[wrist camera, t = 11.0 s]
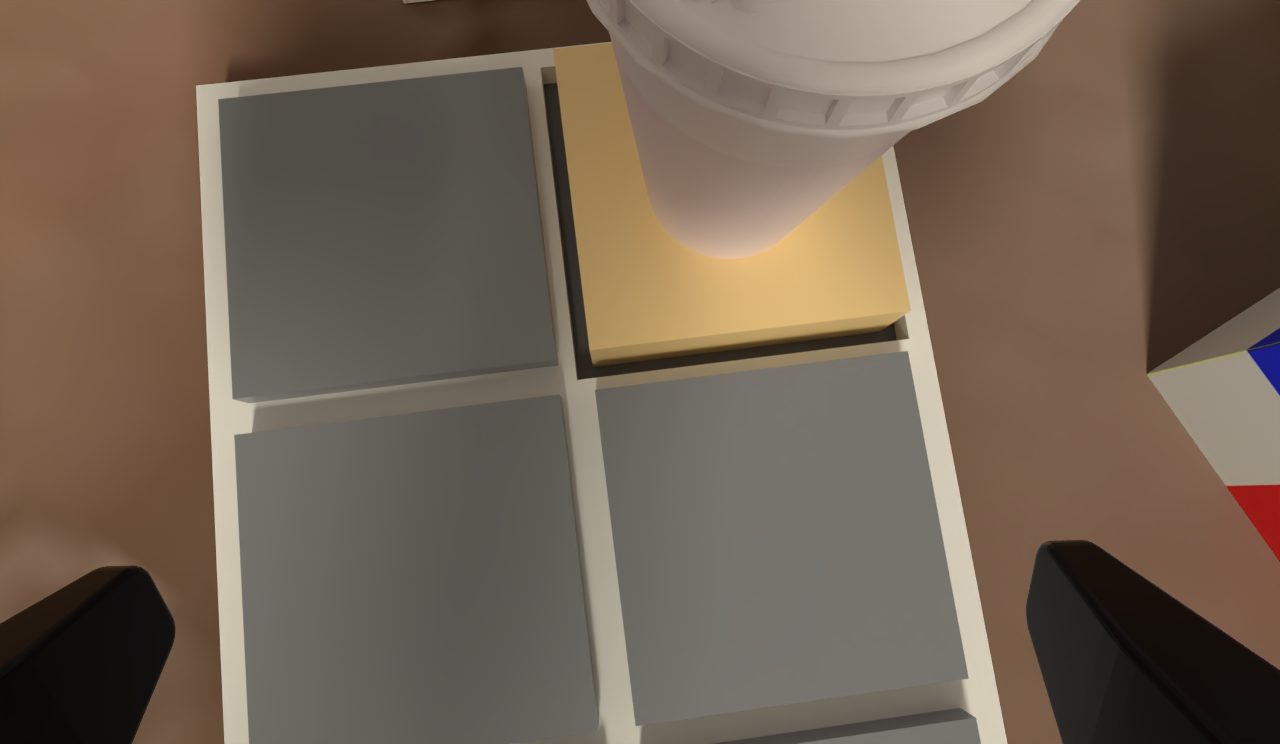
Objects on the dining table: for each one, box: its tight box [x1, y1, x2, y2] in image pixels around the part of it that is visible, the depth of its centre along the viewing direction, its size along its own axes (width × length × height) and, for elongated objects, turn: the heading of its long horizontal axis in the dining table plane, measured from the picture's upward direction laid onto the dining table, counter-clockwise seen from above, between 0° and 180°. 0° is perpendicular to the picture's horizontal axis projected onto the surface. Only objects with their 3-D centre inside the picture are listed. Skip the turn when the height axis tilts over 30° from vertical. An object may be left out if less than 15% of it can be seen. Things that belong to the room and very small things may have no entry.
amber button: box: [553, 43, 911, 367], centre depth 19 cm, size 7×7×2 cm
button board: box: [196, 42, 1007, 744], centre depth 18 cm, size 25×17×2 cm
